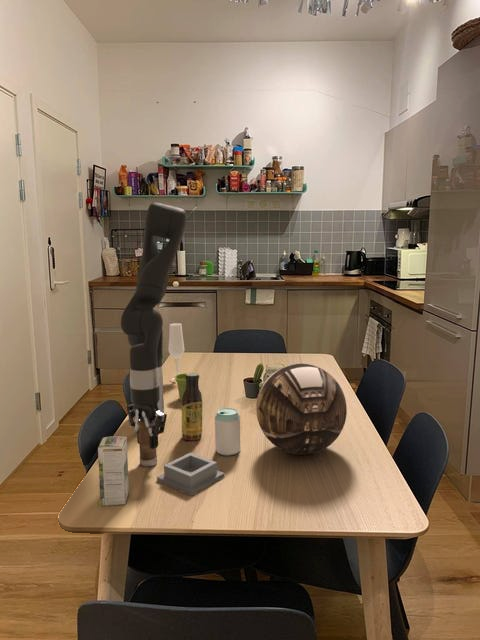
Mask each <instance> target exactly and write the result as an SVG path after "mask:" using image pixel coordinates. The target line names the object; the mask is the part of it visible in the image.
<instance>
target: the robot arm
mask: <svg viewBox="0 0 480 640" xmlns="http://www.w3.org/2000/svg"><path fill="white" fill-rule="evenodd" d="M186 224H187V212H186V211H185V210H184V209H183V208H180V207H177V206H173V205H169V204H165V203H160V202H151V203H150V204H149V206H148V208H147V212H146V215H145V223H144V233H143V241H142V242H143V245H142V251H141V254H142V255H141V258H140V263H139V269H138V273H137V281H136V287H135V288H136V289H135V293H134V294H133V295H132V297H131V299H130V300H129V302H128V303H127V305H126V306H125V308H124V310H123V312H122V314H121V318H120V328H121V330H122V332H123V334H125V335H126V336H127V342H128V343H129V345H130V346H131V347H130V349H129V366H130V368H129V371H130V372H129V385H130V388H129V389H130V402H131V404H129V405H127V406H126V412H127V417H128V419H129V420H128V421H129V425H130V427H131V428H134V429H135V431H136V441H137V444H138V445H139V428H138V422H139V421H144V422H145V424H146V427H147V428H148V430H149V434H150V436H149V440H150V448H151V449H154V448H156V449H157V448H158V446H159V435H161V434H163V433H164V431H165V427H166V422H167V418H168V417H167V416H168V415H167V413H166V412H165V403H164V381H163V380H164V379H163V377H164V375H163V353H164V352H163V339H164V337H163V335H164V333H163V331H164V330H163V324H164V322H163V321H164V320H163V317H162V314H161V313H160V312H159V311H158V310H157V309H154V308H156V306H157V305H159V304H160V303H161V302H162V300H163V298H164V297H165V295H166V292H167V289H168V283H169V279H170V270H171V268H172V265H173V263H174V260H175V257H176V255H177V253H178V249H179V247H180V244H181V241H182V239H183V235H184V232H185V229H186ZM157 237H158V238H162V239H166V240H168V241H167V244H166V245H165V247H164V248H163V249H162V250H161V251H160V250H159V247H158V242H157ZM152 421H154V423H151V424H150V422H152ZM153 426H154V430H153V429H152V427H153Z"/></svg>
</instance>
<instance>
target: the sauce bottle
mask: <svg viewBox="0 0 480 640" xmlns="http://www.w3.org/2000/svg"><path fill="white" fill-rule="evenodd" d="M186 373H187V374H186V375H185V379H186V390H185V391H184V394H183V396H182V400H181V403H182V404H181V437H182V439H183V440H185V441H197V440H199V439H201V438H202V435H203V397H202V392H201V390H200V389H199V387H200V386H199V380H200V377H199V375H200V374H199V372H186ZM198 379H199V380H198Z"/></svg>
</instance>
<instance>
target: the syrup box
mask: <svg viewBox="0 0 480 640" xmlns="http://www.w3.org/2000/svg"><path fill="white" fill-rule="evenodd" d="M97 452H98V453H97V454H98V455H97V456H98V479H99V498H100V499H99V500H100V503H99V504H100V506H101V507H102V506H103V507H107V506H122V505H126V504H127V500H128V496H129V491H130V489H129V466H128V465H129V461H128V460H129V459H128V439H127V436H119V435H118V436H113V435H112V436H105V437H102V439H101V441H100V443H99V445H98V447H97Z"/></svg>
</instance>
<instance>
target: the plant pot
mask: <svg viewBox="0 0 480 640" xmlns="http://www.w3.org/2000/svg"><path fill="white" fill-rule="evenodd" d="M187 373H188V372H183V373H179V374H178V375H176V374H175V376H174V377H173V378H175V379H176V382H177V383H176V385H177V390H178V395H179V400H180V401H182V396H183V394H184V391H185V390H186V379H185V375H186V374H187ZM200 376H201V375H200V374H199V379H198V381H199V380H200V378H201V377H200Z"/></svg>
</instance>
